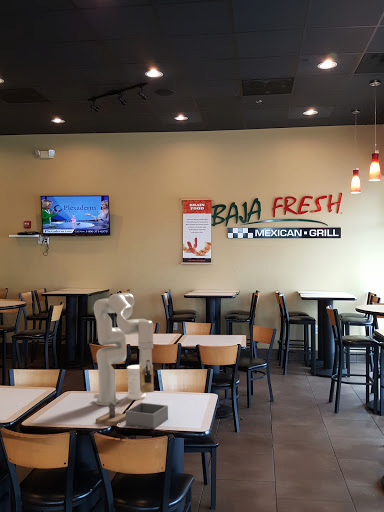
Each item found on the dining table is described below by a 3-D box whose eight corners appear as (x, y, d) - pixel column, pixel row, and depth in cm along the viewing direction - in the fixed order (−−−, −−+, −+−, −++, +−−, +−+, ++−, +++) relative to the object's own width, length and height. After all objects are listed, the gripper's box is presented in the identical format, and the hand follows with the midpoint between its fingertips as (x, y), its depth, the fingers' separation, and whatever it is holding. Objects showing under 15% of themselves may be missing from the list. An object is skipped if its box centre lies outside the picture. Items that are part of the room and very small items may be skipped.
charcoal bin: (125, 425, 242) (125, 411, 242) (141, 415, 256) (141, 402, 256) (153, 429, 236) (153, 414, 236) (168, 419, 250) (167, 405, 250)
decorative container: (122, 398, 290) (122, 367, 290) (134, 393, 300) (133, 364, 300) (139, 400, 284) (138, 369, 284) (150, 395, 295) (149, 365, 295)
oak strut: (142, 392, 242) (141, 366, 243) (140, 390, 248) (139, 364, 248) (153, 391, 244) (152, 365, 245) (151, 389, 249) (150, 363, 250)
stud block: (95, 423, 247) (95, 404, 247) (108, 415, 258) (108, 398, 258) (116, 425, 242) (115, 406, 242) (128, 418, 253) (128, 400, 253)
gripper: (135, 343, 254) (136, 378, 253) (141, 348, 237) (142, 385, 237) (149, 342, 256) (150, 376, 255) (156, 347, 239) (157, 384, 239)
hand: (146, 380), depth 246 cm, fingers closed on oak strut, 5 cm apart
